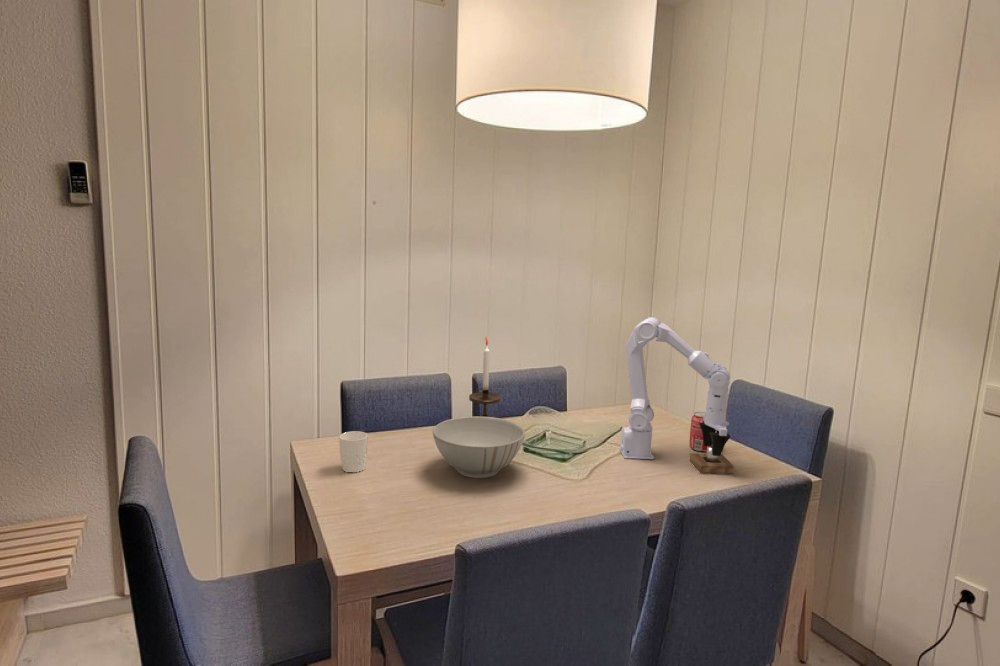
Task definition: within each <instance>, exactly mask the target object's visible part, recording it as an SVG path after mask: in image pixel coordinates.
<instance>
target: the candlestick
mask: <svg viewBox="0 0 1000 666" xmlns="http://www.w3.org/2000/svg"><path fill="white" fill-rule="evenodd" d="M484 339H485V349H483V367H482V369H483V370H482V372H483V374H482V377H483V378H482V387H480V388H479V390H480V392H478V391H477V392H474V393H473V392H472V393H471V394H469V397H468V400H469V401H470V402H472V403H475V404H479V405H480V404H481V405H482V414H480V416H481V417H490V415H489V414H488V405H490V404H491V405H493V404H497V403H500V402H501V401H502V395H501V394H499V393H496V392H491V390H492V388H491V387H489V381H490V379H489V378H490V377H489V376H490V349H489V347H488V344H489V340H488V338H487V335H486V336H485V338H484ZM489 391H490V392H489Z"/></svg>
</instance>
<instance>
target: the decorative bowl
mask: <svg viewBox="0 0 1000 666" xmlns="http://www.w3.org/2000/svg"><path fill="white" fill-rule="evenodd" d="M432 435H433V436H432V437H433V439H434V443H435V445H436V447H437V450H438V451H439V453H440V454H441V457H442V458H443V459H444V460H445V461H446V462H447V463H448V464H449V465H451V466H452V467H453V468H454V469H456V470H457V472H458V473H459V475H461V476H464V477H468V478H471V479H472V478H474V479H484V478H490V477H493V476H496V475H497V474H498V473H499V471H500V470H502V469H504V468H505V467H506V466H507V465H508V464H510V463H511V462H512V461H513V460H514V459H515V458H516V456H517V455H518V453H519V452H520V450H521V448H522V446H523V443H524V440H525V436H526V431H525V429H524V428H523V426H521V425H520V424H518V423H516V422H515V421H511V420H508V419H505V418H504V419H503V418H500V417H494V416H489V417H481V415H479V416H476V415H475V416H462V417H461V416H460V417H454V418H450V419H446V420H444V421H441V422H439V423H438V424H436V425H435V426H434V428H433V429H432Z"/></svg>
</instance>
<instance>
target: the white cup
mask: <svg viewBox="0 0 1000 666" xmlns="http://www.w3.org/2000/svg"><path fill="white" fill-rule="evenodd" d="M339 452H340V460H341V470H342V469H343V470H344V471H347V472H357V473H360V472H359V471H361V472H363V471H364V469H365V470H366V466H367V464H366V463H367V456H368V433H367V432H364V431H359V430H358V431H355V430H354V431H346V432H343V433H341V434H340V435H339ZM343 470H342V471H343ZM362 470H363V471H362ZM344 471H343V472H344ZM347 472H346V473H347Z"/></svg>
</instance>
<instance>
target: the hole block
mask: <svg viewBox="0 0 1000 666" xmlns="http://www.w3.org/2000/svg"><path fill="white" fill-rule="evenodd" d="M706 455H707V453H695V452H694V453H692V452H691V453H689V459H688V460H689V462H690V464H691V465H692V464H693V465H694V466H693V465H692V466H693V467H694V468H695V470H698V471H699V472H700V473H711V474H710V475H729V474H734V475H735V465H733V464H732V462H730V461H729V460H728V459H727V458H726V457H725V456H724V454H722V453H721V456H717V461H716V463H710V462H706ZM698 471H697V472H698ZM699 472H698V473H699ZM700 473H699V474H700Z"/></svg>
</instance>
